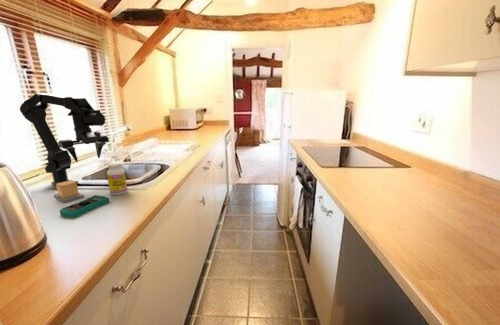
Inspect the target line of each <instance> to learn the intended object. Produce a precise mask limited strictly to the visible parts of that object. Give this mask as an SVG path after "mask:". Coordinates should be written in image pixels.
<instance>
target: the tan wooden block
mask: <svg viewBox="0 0 500 325" xmlns="http://www.w3.org/2000/svg"><path fill="white" fill-rule="evenodd" d="M68 180H69V181H65V182H61V183H56V185H55V187H56V193H58V195H59V196H60V197H62V198H65V197H69V196H73V195H76V194H79V193H80V192H79V189H78V183H77V181H74V180H72V179H68ZM78 192H79V193H78Z"/></svg>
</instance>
